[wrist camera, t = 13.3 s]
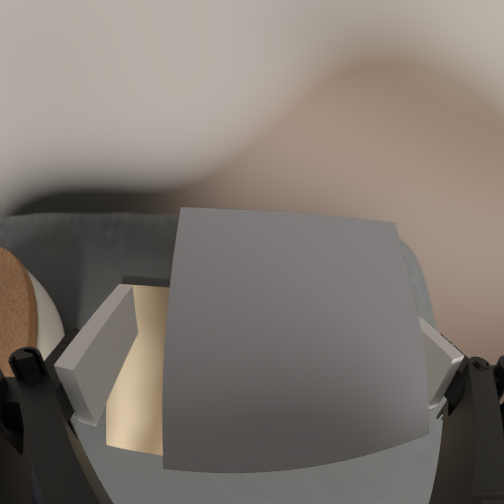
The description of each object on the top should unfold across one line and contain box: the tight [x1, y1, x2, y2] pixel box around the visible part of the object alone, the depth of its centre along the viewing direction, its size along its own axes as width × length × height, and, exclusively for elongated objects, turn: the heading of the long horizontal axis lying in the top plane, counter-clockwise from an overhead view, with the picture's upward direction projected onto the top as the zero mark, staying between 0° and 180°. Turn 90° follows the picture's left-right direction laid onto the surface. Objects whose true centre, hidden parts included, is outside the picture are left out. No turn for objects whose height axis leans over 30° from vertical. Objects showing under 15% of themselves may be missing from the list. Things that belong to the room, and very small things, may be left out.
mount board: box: [106, 284, 170, 455], centre depth 20 cm, size 22×14×1 cm, turn 91°
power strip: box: [162, 207, 429, 473], centre depth 13 cm, size 6×6×16 cm
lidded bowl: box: [0, 247, 65, 377], centre depth 14 cm, size 13×13×11 cm
